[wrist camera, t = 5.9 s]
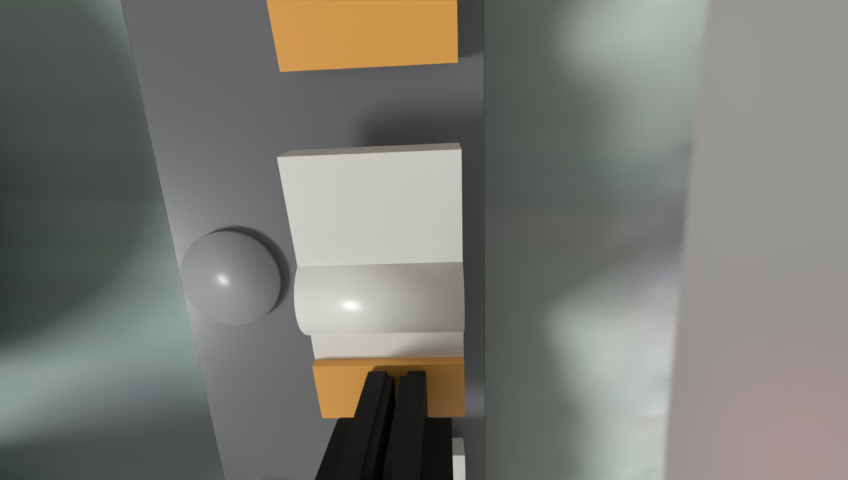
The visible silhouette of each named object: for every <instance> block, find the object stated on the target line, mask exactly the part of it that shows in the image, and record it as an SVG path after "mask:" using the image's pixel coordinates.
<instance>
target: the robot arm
mask: <svg viewBox="0 0 848 480" xmlns="http://www.w3.org/2000/svg"><path fill="white" fill-rule="evenodd" d="M315 480H453V448H452V417H428V405H427V381H426V371H408V373H407V376H401V377H400V382H399V388H398V393H397V399H396V398H395V382H394V376H388V373H387V371H369V372H368V374H367V377H366V380H365V383H364V386H363V389H362V392H361V395H360V399H359V402H358V405H357V408H356V411H355V414H354V417H340V418H339V419H338V420H337V422H336V425H335V427H334V430H333V433H332V435H331V438H330V441H329V443H328V446H327V448H326V451H325V454H324V456H323V459H322V462H321V464H320V467H319V470H318V472H317V475H316V478H315Z"/></svg>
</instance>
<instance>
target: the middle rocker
mask: <svg viewBox="0 0 848 480" xmlns="http://www.w3.org/2000/svg"><path fill="white" fill-rule="evenodd" d="M277 161H278V166H279V172H280V177H281V182H282V187H283V193H284V198H285V203H286V209H287V214H288V219H289V224H290V230H291V235H292V240H293V246H294V251H295V256H296V261H297V270H296V275H295V282H294V307H295V314H296V319H297V322H298V325H299V328H300V330H301V331H302V332H303V333H304V334H305V335H310V336H311V341H312V346H313V351H314V357H315V361H314V363H313V366H312V368H313V374H314V379H315V384H316V389H317V394H318V399H319V404H320V410H321V415H322V418H340V417H354V414H355V411H356V408H357V405H358V402H359V399H360V395H361V392H362V389H363V386H364V383H365V380H366V377H367V374H368V372H369V371H387V373H388V376H394V382H395V398H396V399H397V393H398V388H399V382H400V377H401V376H407V373H408V371H426V381H427V405H428V417H465V384H464V344H463V332H464V327H465V301H464V275H463V250H462V156H461V147H460V144H459V143H440V144H417V145H394V146H370V147H347V148H324V149H301V150H290V151H288V152H286V153H284V154H282V155H280V156H278V157H277Z"/></svg>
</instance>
